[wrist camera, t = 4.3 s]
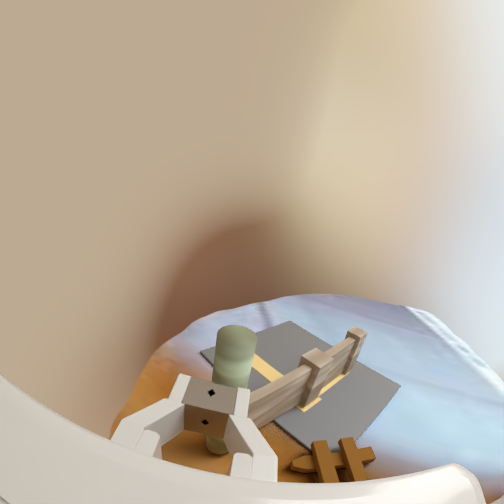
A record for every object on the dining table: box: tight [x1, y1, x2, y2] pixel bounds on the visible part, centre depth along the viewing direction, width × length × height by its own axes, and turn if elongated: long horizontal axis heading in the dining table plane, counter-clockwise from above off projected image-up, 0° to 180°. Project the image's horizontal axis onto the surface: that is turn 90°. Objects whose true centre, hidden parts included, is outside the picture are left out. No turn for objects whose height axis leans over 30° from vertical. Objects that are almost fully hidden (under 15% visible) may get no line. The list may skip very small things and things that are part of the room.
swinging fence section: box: [206, 325, 334, 455], centre depth 27 cm, size 3×17×15 cm, turn 131°
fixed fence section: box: [322, 326, 367, 388], centre depth 37 cm, size 2×9×8 cm, turn 131°
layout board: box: [200, 321, 401, 453], centre depth 39 cm, size 26×21×1 cm
